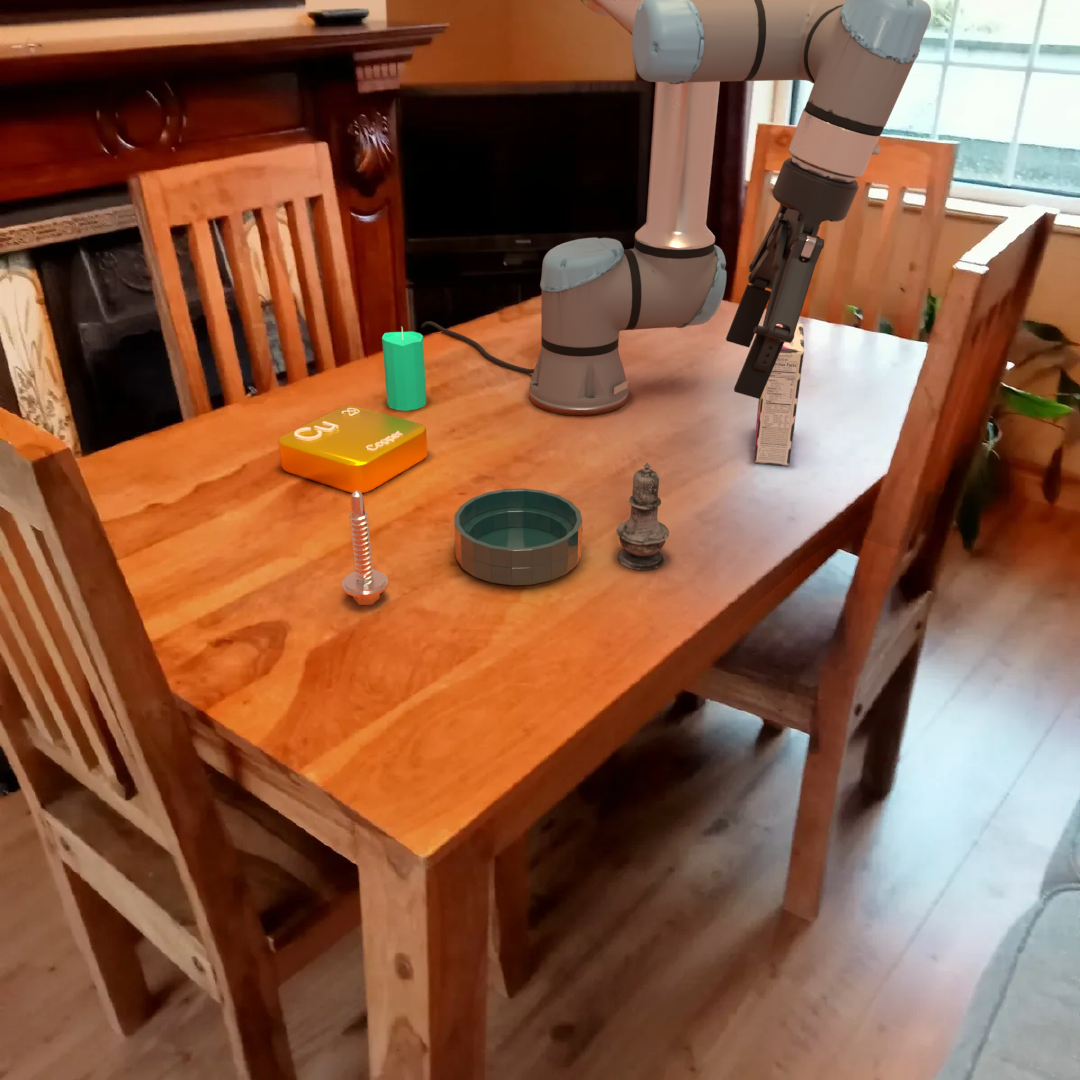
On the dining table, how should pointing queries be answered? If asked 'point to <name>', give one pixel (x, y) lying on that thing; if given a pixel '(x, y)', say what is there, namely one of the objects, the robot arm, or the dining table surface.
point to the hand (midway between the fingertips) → (741, 367)
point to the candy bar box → (780, 404)
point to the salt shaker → (643, 525)
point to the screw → (362, 558)
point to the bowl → (518, 536)
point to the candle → (404, 370)
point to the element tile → (353, 448)
